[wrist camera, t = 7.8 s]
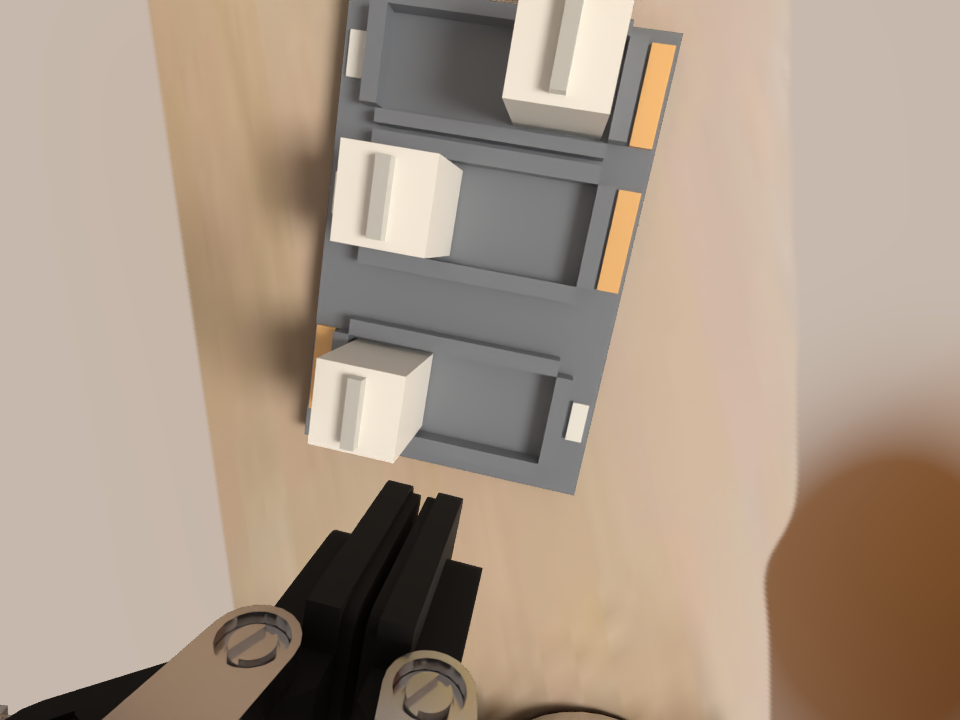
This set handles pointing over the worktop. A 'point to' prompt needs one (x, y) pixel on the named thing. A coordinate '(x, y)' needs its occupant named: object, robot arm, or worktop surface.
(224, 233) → the worktop surface
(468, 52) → the switch board
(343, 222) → the white block with ridge
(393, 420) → the white switch slider block
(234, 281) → the worktop surface
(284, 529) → the worktop surface
